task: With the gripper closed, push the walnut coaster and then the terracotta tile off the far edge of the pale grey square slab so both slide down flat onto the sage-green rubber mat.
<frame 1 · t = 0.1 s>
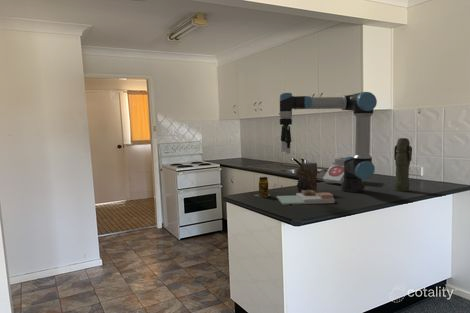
hand: (285, 152, 219), 28 cm above the worktop, fingers open, 13 cm apart
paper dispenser: (342, 182, 269), on the worktop
condiment: (262, 195, 226), on the worktop
walnut coaster: (308, 194, 215), point 2 cm above the worktop, touching pale grey square slab
knife block: (308, 193, 230), on the worktop
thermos: (401, 190, 236), on the worktop
terracotta tile: (325, 197, 207), point 2 cm above the worktop, touching pale grey square slab
pale grey square slab: (314, 199, 211), on the worktop
mat: (289, 200, 210), on the worktop
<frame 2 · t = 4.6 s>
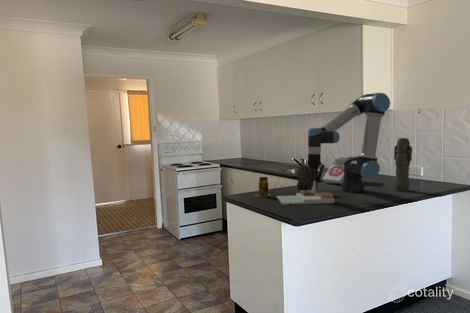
hand: (313, 191, 215), 4 cm above the worktop, fingers closed
walnut coaster: (307, 194, 215), point 2 cm above the worktop, touching pale grey square slab, gripper
everything else where it was.
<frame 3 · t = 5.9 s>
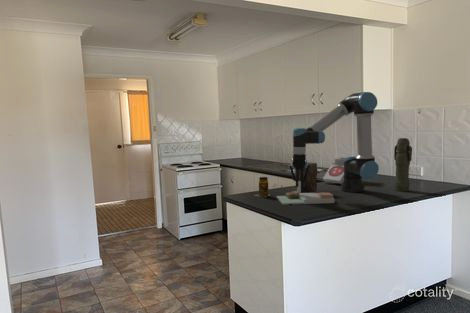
hand: (298, 192, 214), 4 cm above the worktop, fingers closed
walnut coaster: (292, 196, 214), point 2 cm above the worktop, tilted 12°
everything else where it was.
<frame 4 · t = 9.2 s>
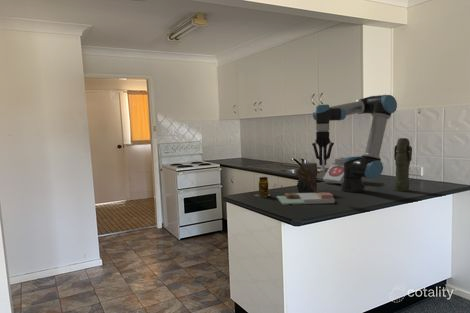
hand: (322, 170, 209), 18 cm above the worktop, fingers closed
walnut coaster: (291, 197, 214), point 1 cm above the worktop, touching mat
everything else where it was.
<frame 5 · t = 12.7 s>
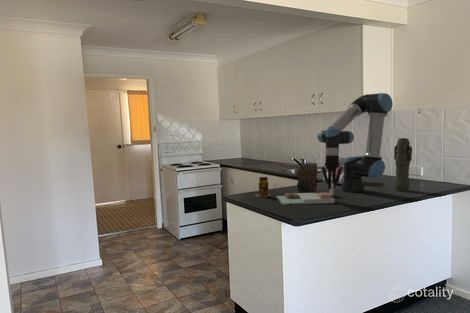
hand: (331, 194, 207), 4 cm above the worktop, fingers closed
terracotta tile: (324, 197, 207), point 3 cm above the worktop, touching pale grey square slab, gripper
everything else where it was.
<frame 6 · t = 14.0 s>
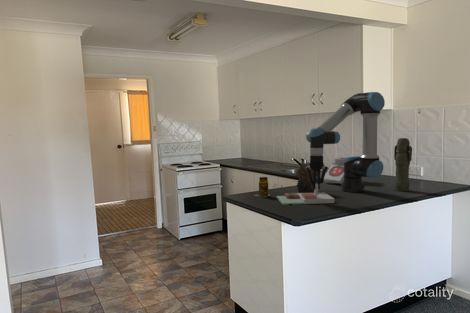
hand: (316, 194, 206), 4 cm above the worktop, fingers closed
terracotta tile: (309, 197, 206), point 3 cm above the worktop, touching gripper
everything else where it was.
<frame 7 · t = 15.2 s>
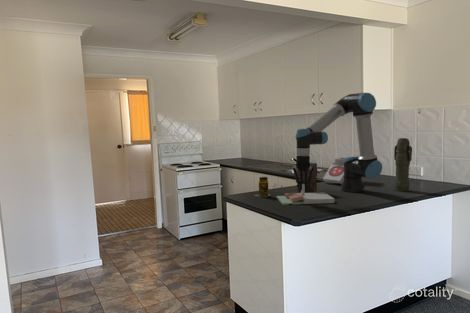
hand: (302, 195, 205), 4 cm above the worktop, fingers closed
terracotta tile: (296, 199, 205), point 2 cm above the worktop, tilted 13°, touching gripper
everything else where it was.
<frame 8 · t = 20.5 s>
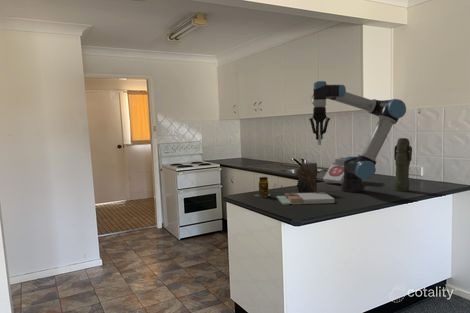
hand: (319, 144, 219), 32 cm above the worktop, fingers closed
terracotta tile: (295, 200, 205), point 1 cm above the worktop, touching mat
everything else where it was.
at the end: walnut coaster inside the target area (5.1 cm from its centre), point 1.0 cm above the worktop; terracotta tile inside the target area (5.3 cm from its centre), point 1.0 cm above the worktop; terracotta tile tilted 0° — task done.
